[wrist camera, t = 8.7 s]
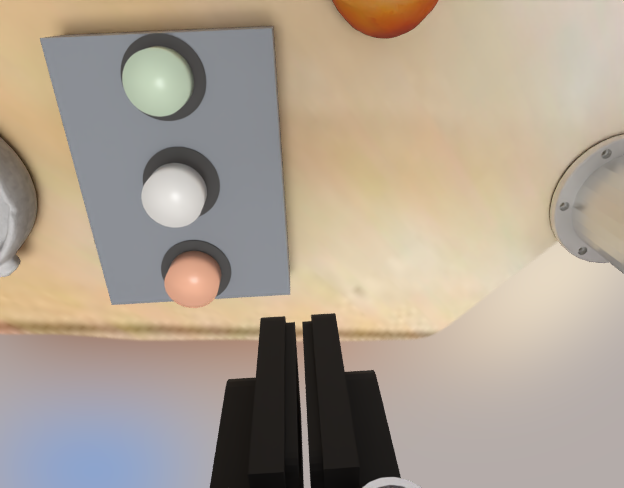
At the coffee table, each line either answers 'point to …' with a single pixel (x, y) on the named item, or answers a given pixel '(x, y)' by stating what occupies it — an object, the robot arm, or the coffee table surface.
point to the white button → (174, 195)
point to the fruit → (384, 15)
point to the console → (178, 157)
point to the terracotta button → (193, 279)
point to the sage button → (158, 80)
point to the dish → (14, 207)
